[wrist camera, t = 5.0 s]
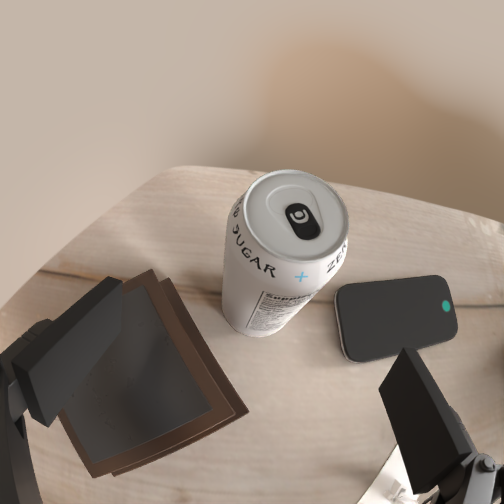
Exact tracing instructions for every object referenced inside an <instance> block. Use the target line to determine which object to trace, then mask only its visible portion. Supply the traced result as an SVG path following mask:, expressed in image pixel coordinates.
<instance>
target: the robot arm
mask: <svg viewBox="0 0 504 504" xmlns="http://www.w3.org/2000/svg"><path fill="white" fill-rule="evenodd" d="M122 285H123V281H122V280H118V279H115V278H112V277H109V276H108V277H106V278H105V279H104V280H103V281H101V282H100V283H99V284H98V285H97V286H95V287H94V288H93V289H92V290H90V291H89V292H88V293H87V294H86V295H84V296H83V297H82V298H81V299H80V300H78V301H77V302H76V303H75V304H74V305H72V306H71V307H70V308H69V309H68V310H67V311H65V312H64V313H63V314H62V315H61V316H60V317H58V318H57V319H56V320H55V321H52V320H50V319H45V320H42V321H40V322H37V323H36V324H34V325H33V326H32V327H31V328H30V329H29V330H28V332H27V331H26V332H25V333H24V334H23V335H22V336H21V337H19V338H18V339H17V340H16V341H15V342H14V343H12V344H11V345H10V346H9V347H8V348H7V349H6V350H5V351H3V352H2V353H1V354H0V504H43V502H42V499H41V496H40V492H39V489H38V485H37V481H36V478H35V473H34V469H33V465H32V460H31V455H30V450H29V445H28V439H27V433H26V426H25V419H24V416H23V413H24V411H25V410H26V409H27V408H28V410H29V412H30V415H31V417H32V418H33V419H35V420H36V421H38V422H39V423H41V424H43V425H44V426H46V427H48V428H49V426H50V425H51V423H52V422H53V420H54V419H55V418H56V416H57V415H58V413H59V412H60V411H61V409H62V408H63V406H64V405H65V404H66V402H67V401H68V400H69V398H70V397H71V396H72V394H73V393H74V392H75V390H76V389H77V387H78V386H79V385H80V383H81V382H82V381H83V379H84V378H85V377H86V376H87V374H88V373H89V372H90V370H91V369H92V368H93V366H94V365H95V364H96V362H97V361H98V360H99V359H100V357H101V356H102V355H103V353H104V352H105V351H106V350H107V348H108V347H109V346H110V345H111V343H112V342H113V341H114V340H115V338H116V337H117V336H118V335H119V333H120V332H121V310H122ZM379 392H380V395H381V397H382V400H383V403H384V406H385V408H386V411H387V414H388V417H389V420H390V423H391V426H392V428H393V431H394V434H395V437H396V440H397V443H398V446H399V449H400V452H401V456H402V459H403V462H404V465H405V468H406V472H407V475H408V478H409V482H410V485H411V489H412V492H413V495H417V494H422V493H427V492H429V491H430V490H431V489H433V488H434V487H435V486H436V485H437V484H438V487H439V490H438V491H437V492H435V493H434V494H433V495H432V496H430V497H429V498H428V499H426V500H425V501H424V502H423V504H426V503H428V502H429V501H430V500H431V503H430V504H493V503H494V502H496V501H497V500H498V499H499V498H501V503H500V504H504V465H497V464H495V461H494V460H493V459H492V458H491V457H490V456H489V455H487V454H484V453H483V454H478V452H477V450H476V448H475V446H474V444H473V442H472V440H471V438H470V436H469V434H468V432H467V430H466V431H465V429H466V428H465V427H464V425H463V424H462V421H461V419H460V417H459V416H458V414H457V413H456V412H455V411H454V410H453V408H452V407H451V406H449V405H448V403H447V401H446V400H445V398H444V396H443V394H442V393H441V391H440V389H439V387H438V386H437V384H436V382H435V380H434V379H433V377H432V375H431V374H430V372H429V370H428V369H427V367H426V365H425V364H424V362H423V360H422V359H421V357H420V356H419V354H418V352H417V351H416V349H414V348H407V347H403V348H402V350H401V352H400V353H399V355H398V357H397V359H396V361H395V362H394V364H393V366H392V367H391V369H390V371H389V373H388V374H387V376H386V378H385V379H384V381H383V382H382V384H381V386H380V387H379Z"/></svg>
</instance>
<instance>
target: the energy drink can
mask: <svg viewBox="0 0 504 504" xmlns="http://www.w3.org/2000/svg"><path fill="white" fill-rule="evenodd" d="M348 230H349V216H348V212H347V209H346V206H345V204H344V202H343V200H342V198H341V197H340V196H339V194H338V193H337V192H336V191H335V190H334V189H333V188H332V187H331V186H330V185H329V184H328V183H326V182H325V181H324V180H322V179H321V178H319V177H316V176H315V175H312V174H310V173H307V172H303V171H298V170H292V169H283V170H276V171H272V172H269V173H266V174H264V175H263V176H261V177H259V178H258V179H257V180H255V181H254V182H253V183H252V184H251V186H250V187H249V188H248V190H247V191H246V192H245V193H244V194H243V195H242V196H241V197H240V198H238V200H237V201H236V202H235V204H234V205H233V207H232V209H231V211H230V214H229V216H228V221H227V229H226V242H225V256H224V270H223V286H222V310H223V313H224V316H225V318H226V320H227V322H228V323H229V324H230V325H231V326H232V327H233V328H234V329H235V330H236V331H238V332H240V333H242V334H243V335H247V336H250V337H265V336H268V335H272V334H273V333H275V332H277V331H278V330H280V329H281V328H282V327H283V326H284V325H285V324H286V323H287V322H288V321H289V320H290V319H291V318H292V317H293V316H294V315H295V314H296V313H297V312H298V311H299V310H300V309H301V308H302V307H303V306H304V305H305V304H306V303H307V302H308V301H309V300H310V299H311V298H312V297H313V296H314V295H315V294H316V293H317V292H318V291H319V290H320V289H321V288H322V287H323V286H324V285H325V284H326V283H327V282H328V281H329V280H330V279H331V278H332V277H333V276H334V275H335V274H336V272H337V271H338V270H339V268H340V267H341V265H342V263H343V261H344V258H345V256H346V251H347V234H348Z"/></svg>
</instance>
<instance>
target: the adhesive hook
mask: <svg viewBox="0 0 504 504" xmlns="http://www.w3.org/2000/svg"><path fill="white" fill-rule="evenodd" d="M409 489H410V487H409V486H407V485H404V484H402V483H401V482H400V481H399V480H397V479H396V478H395V479H394V481H393V483H392V485H391V487H390V489H389V490H388V489H386V490H385V491H384V493H383V494H382V496H383V497H384V498H385V499H387V500H388V502H389V503H390V504H409V503H416V504H417V503H419V502H418V501H416V499H415V498H413V496H412V495H411V494H408V492H409Z"/></svg>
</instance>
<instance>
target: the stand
mask: <svg viewBox="0 0 504 504" xmlns="http://www.w3.org/2000/svg"><path fill="white" fill-rule="evenodd" d="M55 320H56V319H55ZM55 320H54V321H55ZM248 413H249V410H248V409H247V407H246V406H245V404H244V403H243V401H242V400H241V398H240V397H239V395H238V394H237V392H236V391H235V389H234V388H233V386H232V385H231V383H230V381H229V380H228V378H227V377H226V375H225V374H224V372H223V370H222V369H221V367H220V366H219V364H218V362H217V361H216V359H215V357H214V356H213V354H212V352H211V351H210V349H209V347H208V346H207V344H206V342H205V341H204V339H203V337H202V336H201V334H200V332H199V330H198V329H197V327H196V325H195V323H194V322H193V320H192V318H191V316H190V315H189V313H188V311H187V309H186V308H185V306H184V304H183V302H182V300H181V298H180V297H179V295H178V293H177V291H176V289H175V287H174V285H173V284H172V282H171V280H170V278H167V279H165V280H163V281H161V282H159V281H158V279H157V277H156V275H155V273H154V271H153V269H150V270H148V271H146V272H144V273H142V274H140V275H138V276H136V277H134V278H133V279H131V280H129V281H127V282H125V283H123V285H122V310H121V332H120V333H119V335H118V336H117V337H116V338H115V340H114V341H113V342H112V343H111V345H110V346H109V347H108V348H107V350H106V351H105V352H104V353H103V355H102V356H101V357H100V359H99V360H98V361H97V362H96V364H95V365H94V366H93V368H92V369H91V370H90V372H89V373H88V374H87V376H86V377H85V378H84V379H83V381H82V382H81V383H80V385H79V386H78V387H77V389H76V390H75V392H74V393H73V394H72V396H71V397H70V398H69V400H68V401H67V402H66V404H65V405H64V406H63V408H62V409H61V411H60V412H59V413H58V416H59V418H60V421H61V423H62V425H63V427H64V429H65V431H66V433H67V435H68V437H69V438H70V440H71V442H72V444H73V446H74V448H75V450H76V451H77V453H78V455H79V457H80V458H81V460H82V462H83V463H84V465H85V467H86V468H87V470H88V472H89V473H90V475H91V476H92V478H97V477H100V476H103V475H106V474H109V473H112V475H113V476H114V477H115V476H117V475H120V474H123V473H125V472H128V471H131V470H133V469H136V468H138V467H141V466H143V465H146V464H148V463H150V462H153V461H155V460H157V459H160V458H162V457H164V456H167V455H169V454H171V453H173V452H175V451H177V450H180V449H182V448H184V447H186V446H188V445H190V444H192V443H194V442H196V441H198V440H200V439H202V438H204V437H206V436H208V435H210V434H212V433H214V432H215V431H217V430H219V429H221V428H223V427H225V426H227V425H228V424H230V423H232V422H234V421H235V420H237V419H239V418H241V417H242V416H244V415H246V414H248Z"/></svg>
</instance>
